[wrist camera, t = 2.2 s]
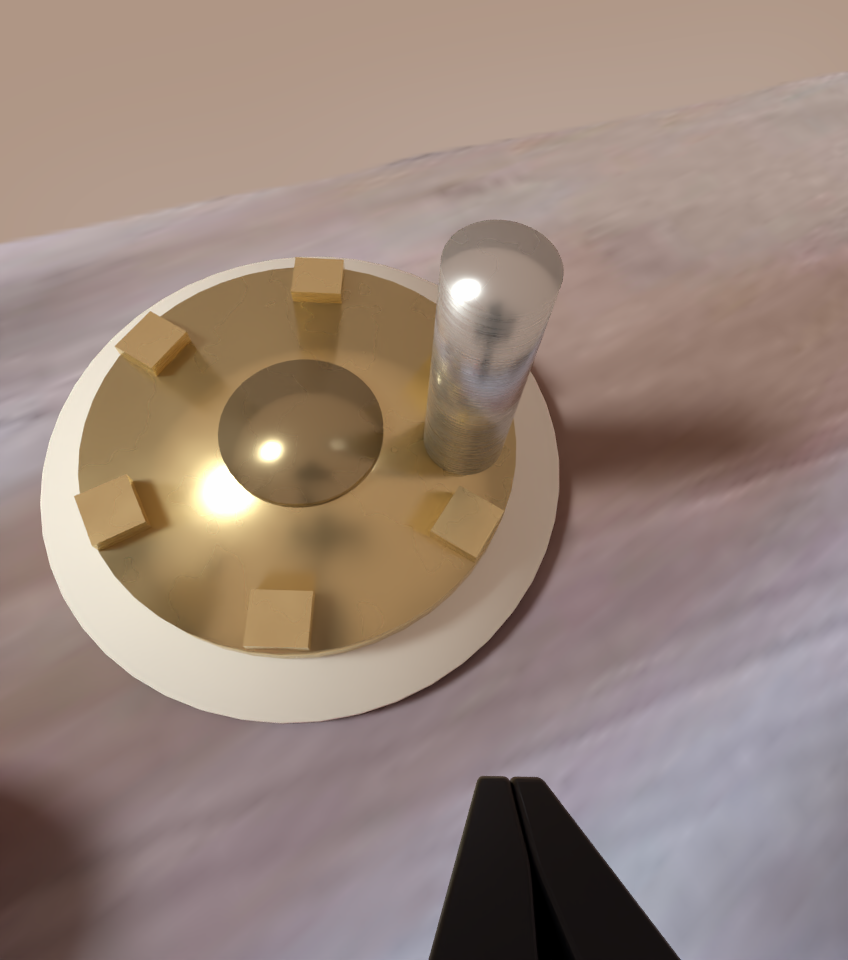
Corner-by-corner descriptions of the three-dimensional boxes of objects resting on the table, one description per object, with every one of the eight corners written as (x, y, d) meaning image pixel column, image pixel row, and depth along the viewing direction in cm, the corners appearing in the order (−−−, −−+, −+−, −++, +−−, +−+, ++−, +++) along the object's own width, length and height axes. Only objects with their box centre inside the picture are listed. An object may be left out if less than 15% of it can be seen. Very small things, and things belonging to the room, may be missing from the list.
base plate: (655, 555, 24) (664, 548, 23) (150, 847, 19) (140, 851, 18) (409, 212, 31) (410, 198, 30) (-10, 367, 26) (-22, 355, 25)
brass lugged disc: (591, 527, 23) (722, 375, 14) (181, 751, 20) (-11, 747, 10) (392, 239, 29) (393, -8, 19) (41, 372, 25) (-168, 144, 16)
